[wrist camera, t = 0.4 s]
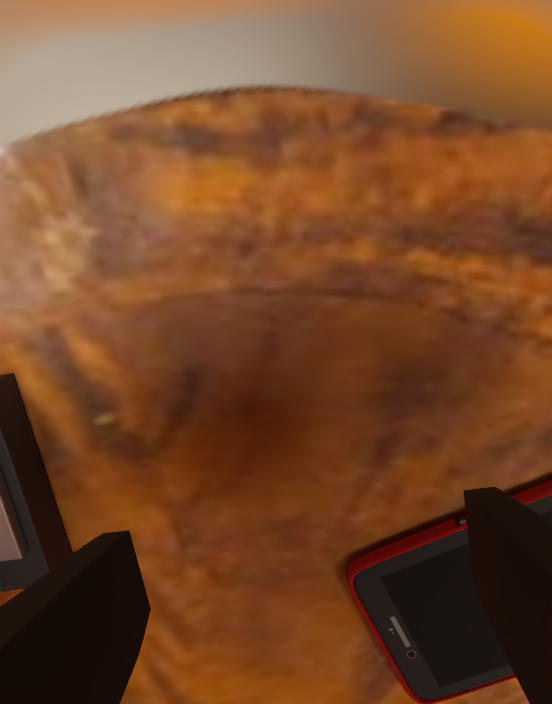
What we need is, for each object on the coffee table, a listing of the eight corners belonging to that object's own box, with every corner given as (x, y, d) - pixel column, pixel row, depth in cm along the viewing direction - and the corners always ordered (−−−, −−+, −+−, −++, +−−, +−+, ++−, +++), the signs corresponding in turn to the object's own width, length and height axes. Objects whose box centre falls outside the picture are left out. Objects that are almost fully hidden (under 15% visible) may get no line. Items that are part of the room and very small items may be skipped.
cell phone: (743, 579, 20) (764, 596, 19) (411, 691, 23) (415, 712, 22) (683, 421, 19) (703, 432, 18) (337, 560, 21) (338, 575, 20)
